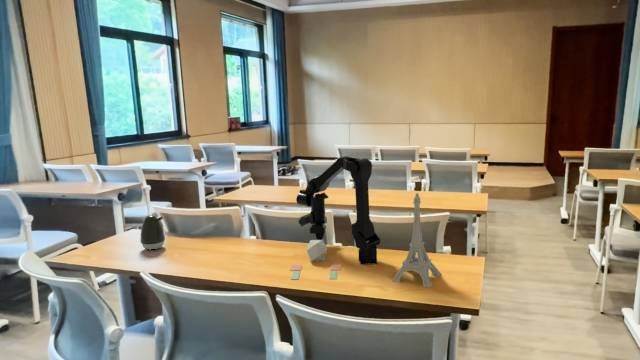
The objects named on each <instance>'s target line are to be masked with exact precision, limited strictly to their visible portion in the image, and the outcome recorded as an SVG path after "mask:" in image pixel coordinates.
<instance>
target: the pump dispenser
mask: <svg viewBox="0 0 640 360" xmlns="http://www.w3.org/2000/svg"><path fill="white" fill-rule="evenodd" d="M163 218H164V217H163V216H160V217H157V216H155V215H153V214H152V215H151V214H150V215H147V216H146V217H145V218H144V220H143V223H142V225H141V228H140V244H141V245H142V247H143V248H144V249H145V250H147V249H149V250H148V251H152V250H151V249H157V250H159V249H161V248H162V247H163V246H164V245H165V240H166V235H165V232H164V228H163V226H162V224H161V222H160V221H161V220H163ZM158 248H159V249H158Z"/></svg>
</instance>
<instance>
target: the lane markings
mask: <svg viewBox="0 0 640 360" xmlns="http://www.w3.org/2000/svg"><path fill="white" fill-rule="evenodd" d="M302 268H303V264H291V266H290V269H289V271H291V272H292V276H291V280H295V281H296V280H299V279H300V278H299V277H300V275H301V270H302ZM329 268H330V269H329V280H337V277H338V276H337V275H338V271H342V264H340V263H339V264H338V263H337V264H336V263H333V264H330V267H329Z"/></svg>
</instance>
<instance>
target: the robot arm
mask: <svg viewBox="0 0 640 360" xmlns="http://www.w3.org/2000/svg"><path fill="white" fill-rule="evenodd" d="M344 170H345V171H346V172H347V171H348V172H349V173H350V177H351V178H352V180H353V182H354V187H355V189H354V190H355V210H356V211H355V212H356V221H355V222H353V223H352V224H351V226H350V227H351V235H352V238H353V240H354V242H355V246H356V248H357V249H358V261H359V263H360V265H378V258H377V257H378V254H377V253H378V251H377V249H378V248H377V246H379V245H380V244H381V238H380V237H379V236H378V233H376V231H375V227H374V224H373V222H372V220H371V219H370V217H371V216H370V200H369V198H370V197H369V196H370V195H369V181H370V178H371V176H372V171H373V164H372V161H371V160H370V159H369V158H359V157H358V158H357V157H350V156H346V155H345V156H339V157H338V158H337V159H336V160H335V162H333V163H332V164H331V165H329V167H328V168H327V169H326V170H324V171H323V172H322V173H321V174H320V175H318V176H315V177H313V178H311V179H310V180H309V181H308V182H307V185H306V188H305V189H300V190H299V193H298V194H297V196H296V198H295V199H296V203H297V205H298V206H304V207H306V208H307V207H308V208H309V207H310V209H311V210H310V212H309V213H307V214H304V215H302V216H299V217H298V219H297V220H298V225H300V227H304V226H306V225H308V224H310V227H309V234H314V235H315V238H316V240H324V236H325V233H326V230H327V226H326V224H327V223H328V218H327V216H326V207H325V206H326V202H325V200H326V199H328V198H329V196H328V195H327V194H326V192H325V191H326V190H327V189H328V188H329V186H330V182H332V181H333V179H334V178H336V177H337V176H338V175H339V174H340V173H341V172H342V171H344Z"/></svg>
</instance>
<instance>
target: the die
mask: <svg viewBox="0 0 640 360" xmlns="http://www.w3.org/2000/svg"><path fill="white" fill-rule="evenodd" d="M307 245H308V246H307V248H306V253H307V255H308V258H309V259H310V262H323V261H325V258H326V256H327V252H328V248H327V245H326V243H325V241H324V239H322V240H317V239H310V240H309V242H308V244H307Z"/></svg>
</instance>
